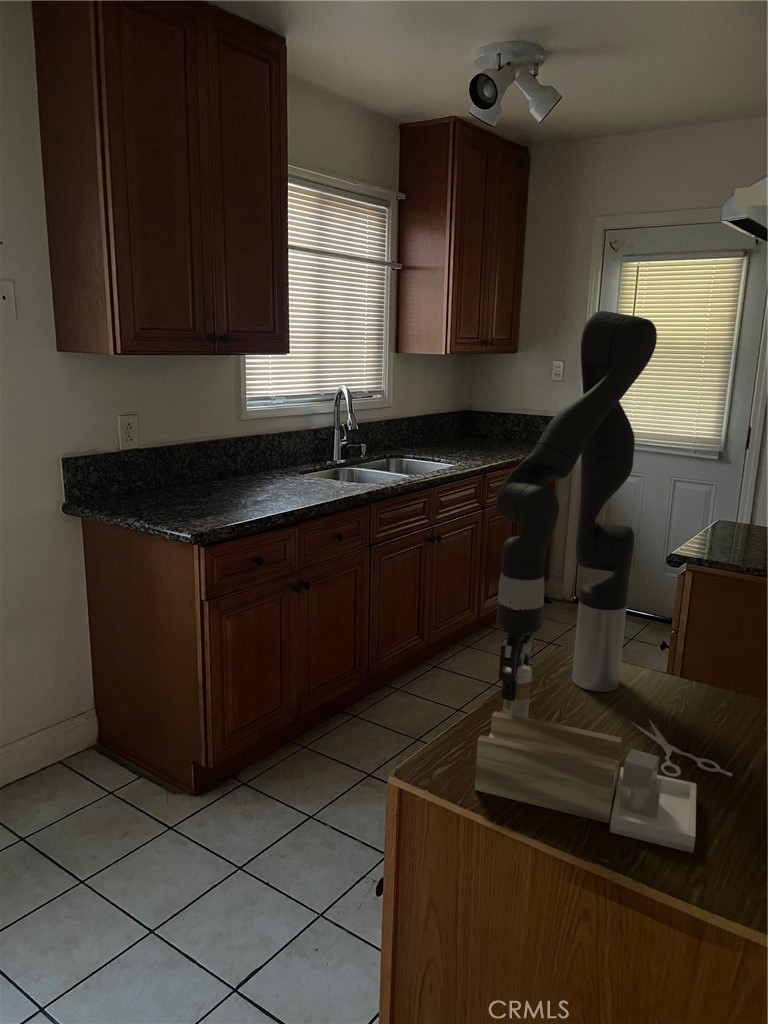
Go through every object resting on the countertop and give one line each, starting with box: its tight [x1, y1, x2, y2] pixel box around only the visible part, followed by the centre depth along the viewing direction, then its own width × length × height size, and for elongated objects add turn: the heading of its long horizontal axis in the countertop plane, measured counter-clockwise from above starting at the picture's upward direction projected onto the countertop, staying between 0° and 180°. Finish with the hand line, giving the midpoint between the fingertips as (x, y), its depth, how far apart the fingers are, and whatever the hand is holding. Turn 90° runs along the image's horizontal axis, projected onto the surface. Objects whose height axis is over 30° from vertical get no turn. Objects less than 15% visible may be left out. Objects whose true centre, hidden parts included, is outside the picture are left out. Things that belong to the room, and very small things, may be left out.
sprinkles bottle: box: [502, 664, 533, 718], centre depth 130 cm, size 5×5×14 cm
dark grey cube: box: [628, 779, 662, 818], centre depth 111 cm, size 4×4×4 cm
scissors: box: [629, 719, 733, 778], centre depth 131 cm, size 11×1×20 cm
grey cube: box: [622, 748, 660, 794], centre depth 110 cm, size 4×4×4 cm
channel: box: [474, 711, 622, 824], centre depth 116 cm, size 10×20×8 cm, turn 68°
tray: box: [609, 766, 697, 854], centre depth 111 cm, size 14×11×2 cm
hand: (514, 688), depth 130 cm, fingers open, 8 cm apart
